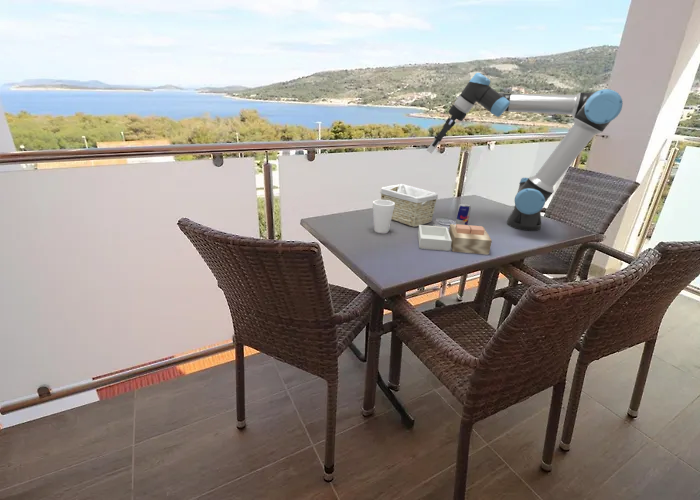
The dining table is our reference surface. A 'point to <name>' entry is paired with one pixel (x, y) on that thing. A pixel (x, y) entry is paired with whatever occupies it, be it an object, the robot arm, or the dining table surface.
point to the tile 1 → (462, 229)
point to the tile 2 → (476, 230)
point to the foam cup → (382, 215)
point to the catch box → (434, 238)
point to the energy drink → (463, 214)
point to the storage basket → (410, 203)
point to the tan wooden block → (469, 242)
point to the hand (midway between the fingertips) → (431, 148)
